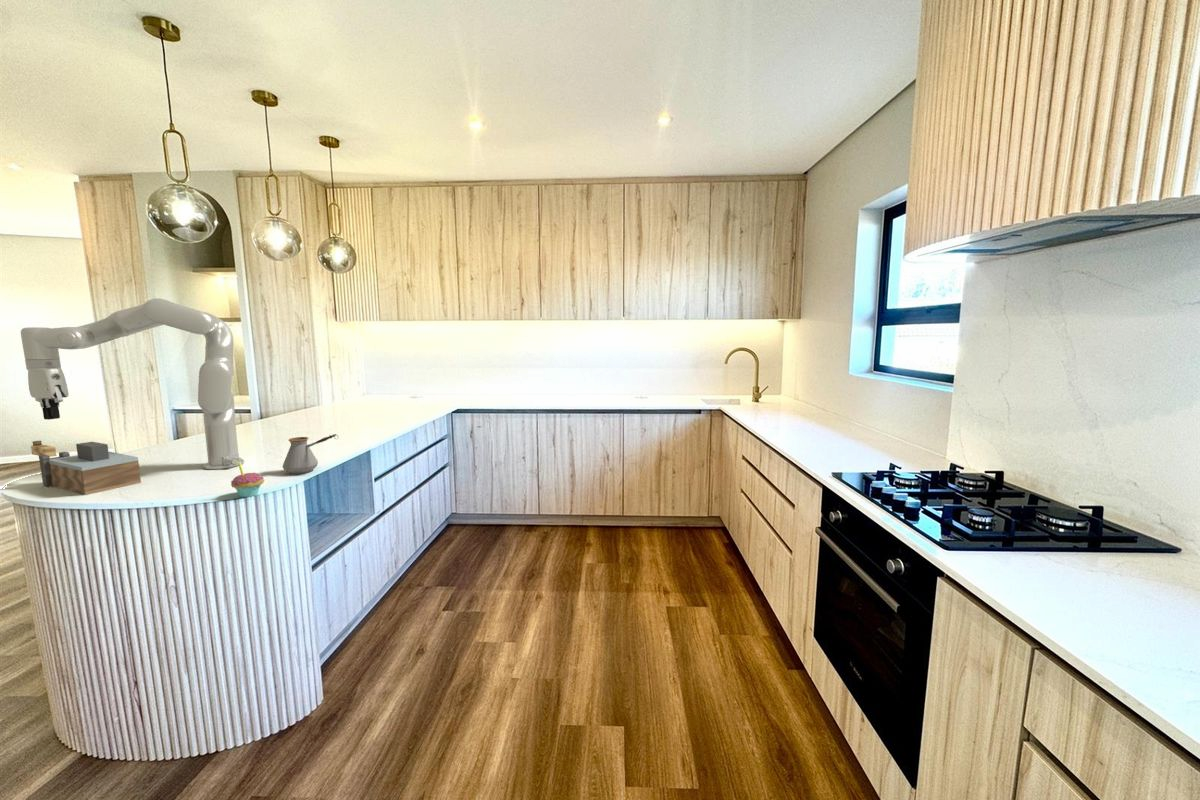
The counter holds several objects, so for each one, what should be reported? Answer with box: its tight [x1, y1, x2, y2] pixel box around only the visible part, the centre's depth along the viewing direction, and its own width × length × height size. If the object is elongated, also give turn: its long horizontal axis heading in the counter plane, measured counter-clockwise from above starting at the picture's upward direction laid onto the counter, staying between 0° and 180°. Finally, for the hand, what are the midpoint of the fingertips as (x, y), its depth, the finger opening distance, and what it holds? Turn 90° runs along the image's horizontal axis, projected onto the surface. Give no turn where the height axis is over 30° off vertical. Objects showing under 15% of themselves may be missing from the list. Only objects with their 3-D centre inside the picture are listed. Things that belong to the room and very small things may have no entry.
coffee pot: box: [282, 433, 339, 475], centre depth 177 cm, size 21×12×15 cm, turn 85°
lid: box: [48, 441, 139, 471], centre depth 160 cm, size 22×14×7 cm, turn 68°
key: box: [30, 440, 57, 458], centre depth 163 cm, size 10×2×4 cm, turn 68°
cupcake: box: [230, 461, 265, 498], centre depth 152 cm, size 9×8×12 cm
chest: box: [38, 451, 142, 496], centre depth 161 cm, size 25×15×11 cm, turn 68°
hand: (52, 418), depth 159 cm, fingers closed
